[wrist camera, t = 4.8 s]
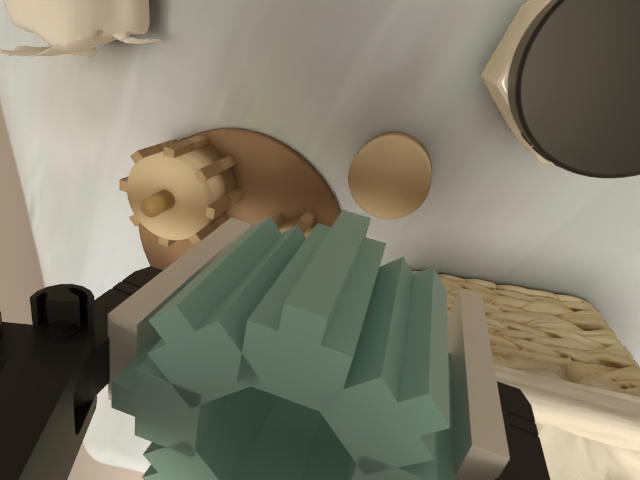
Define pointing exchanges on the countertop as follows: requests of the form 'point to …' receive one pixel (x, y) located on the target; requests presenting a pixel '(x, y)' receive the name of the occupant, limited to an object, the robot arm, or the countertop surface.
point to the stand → (390, 175)
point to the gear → (298, 365)
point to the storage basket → (565, 377)
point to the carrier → (221, 190)
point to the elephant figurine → (78, 24)
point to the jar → (572, 84)
